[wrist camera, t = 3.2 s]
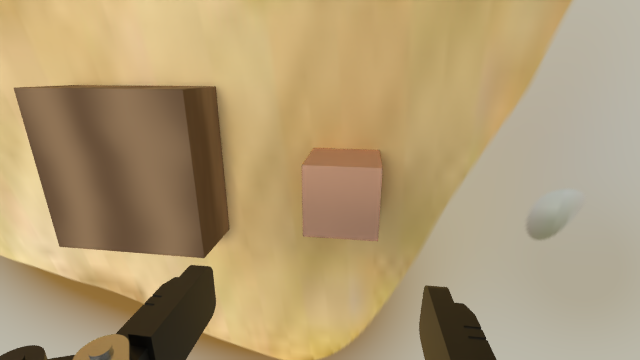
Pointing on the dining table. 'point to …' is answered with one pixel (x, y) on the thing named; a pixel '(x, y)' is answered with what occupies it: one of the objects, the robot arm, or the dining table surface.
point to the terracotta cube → (342, 193)
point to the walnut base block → (129, 166)
